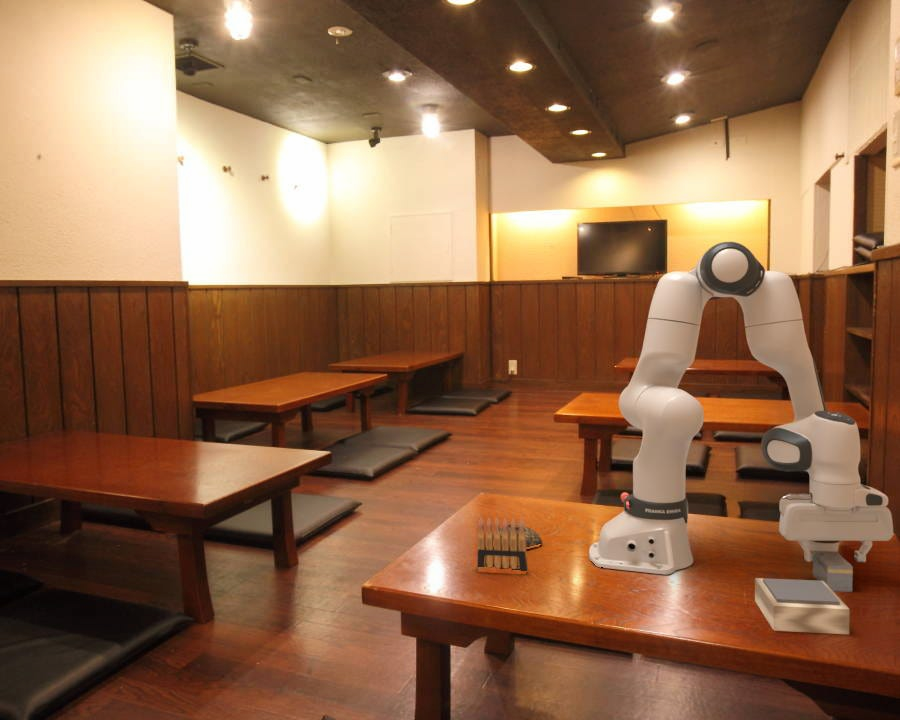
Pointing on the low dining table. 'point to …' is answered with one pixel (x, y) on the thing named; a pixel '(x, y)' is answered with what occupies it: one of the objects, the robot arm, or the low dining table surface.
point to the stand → (801, 606)
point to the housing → (833, 570)
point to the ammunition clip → (504, 555)
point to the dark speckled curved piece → (530, 535)
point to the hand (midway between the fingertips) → (834, 560)
